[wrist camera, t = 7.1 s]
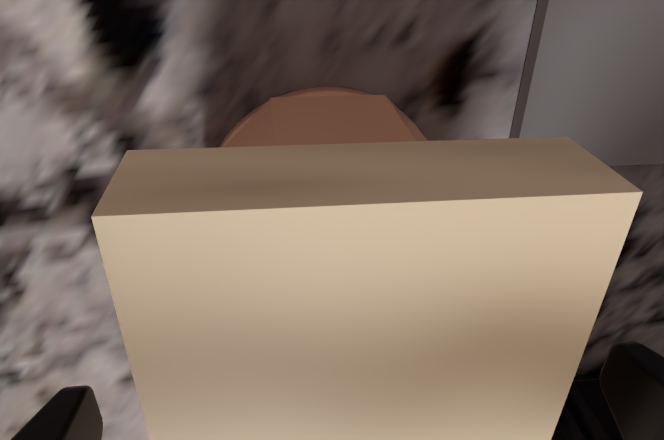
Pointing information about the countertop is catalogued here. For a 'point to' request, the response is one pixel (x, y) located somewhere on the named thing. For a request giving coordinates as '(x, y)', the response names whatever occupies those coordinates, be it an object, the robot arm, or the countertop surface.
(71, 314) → the countertop surface
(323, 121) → the bowl
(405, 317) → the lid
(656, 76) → the mat
